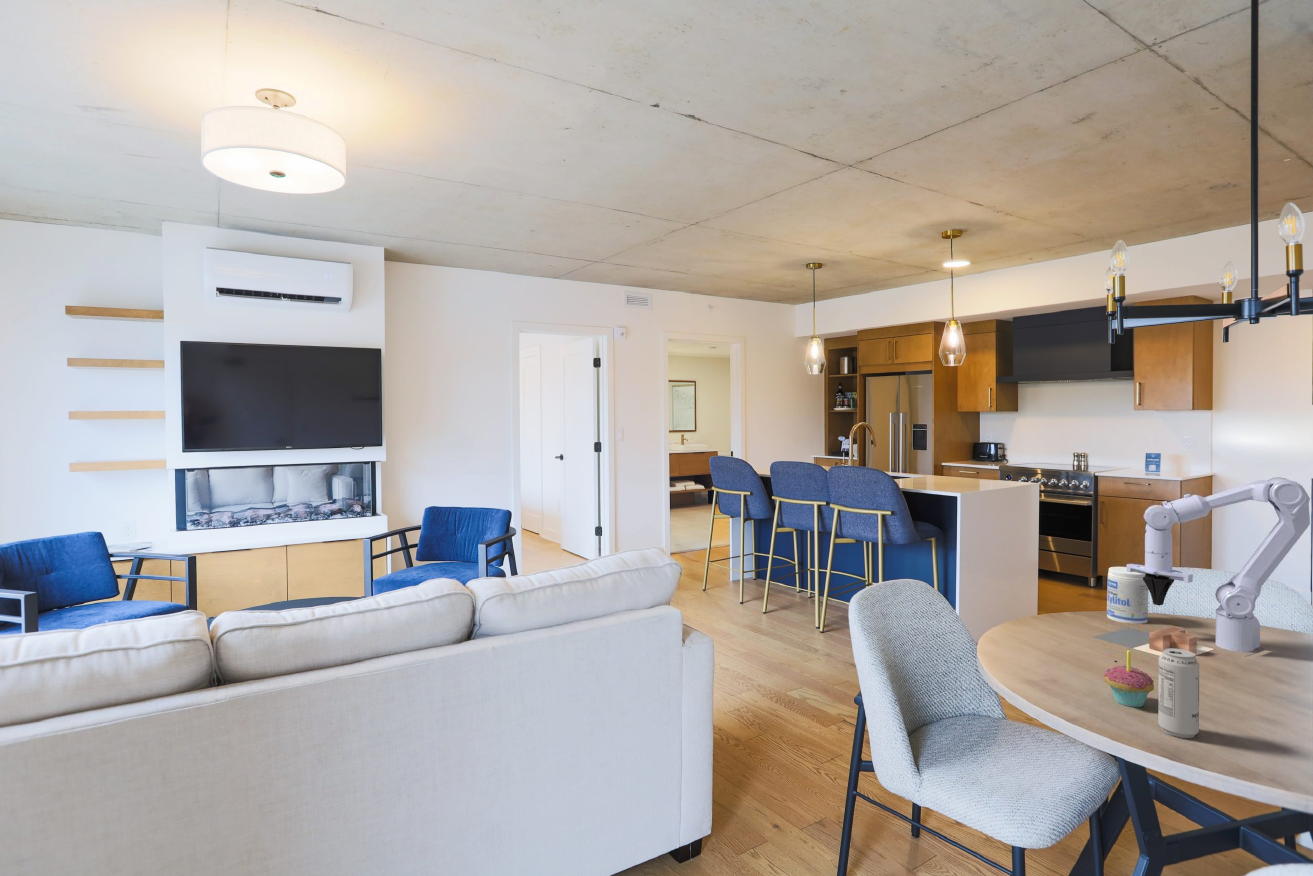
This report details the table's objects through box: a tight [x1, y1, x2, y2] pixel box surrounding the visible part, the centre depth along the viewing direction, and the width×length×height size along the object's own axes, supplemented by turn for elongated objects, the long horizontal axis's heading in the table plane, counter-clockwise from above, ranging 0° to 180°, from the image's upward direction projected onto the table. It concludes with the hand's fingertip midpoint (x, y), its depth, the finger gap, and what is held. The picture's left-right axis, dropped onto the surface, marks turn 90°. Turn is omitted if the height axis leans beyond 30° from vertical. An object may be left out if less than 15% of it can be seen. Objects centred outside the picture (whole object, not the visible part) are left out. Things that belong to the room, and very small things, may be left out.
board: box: [1092, 627, 1215, 657], centre depth 174 cm, size 16×20×1 cm
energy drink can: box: [1157, 648, 1200, 739], centre depth 127 cm, size 6×6×15 cm
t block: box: [1148, 626, 1198, 653], centre depth 168 cm, size 7×10×4 cm
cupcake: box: [1103, 647, 1155, 708], centre depth 141 cm, size 9×8×12 cm
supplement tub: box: [1106, 566, 1149, 625], centre depth 194 cm, size 10×10×15 cm
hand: (1158, 604), depth 177 cm, fingers closed
